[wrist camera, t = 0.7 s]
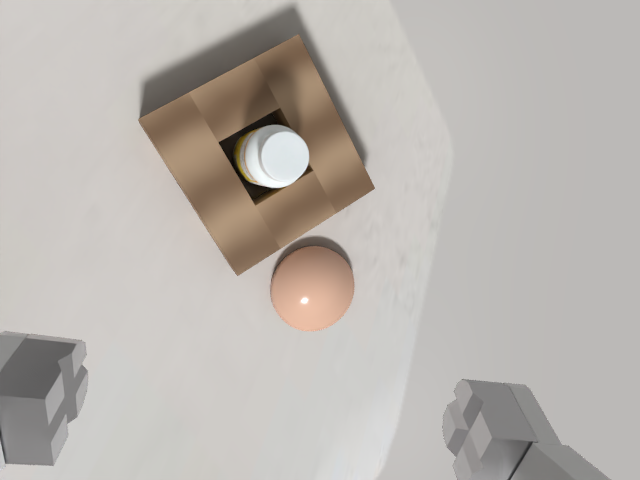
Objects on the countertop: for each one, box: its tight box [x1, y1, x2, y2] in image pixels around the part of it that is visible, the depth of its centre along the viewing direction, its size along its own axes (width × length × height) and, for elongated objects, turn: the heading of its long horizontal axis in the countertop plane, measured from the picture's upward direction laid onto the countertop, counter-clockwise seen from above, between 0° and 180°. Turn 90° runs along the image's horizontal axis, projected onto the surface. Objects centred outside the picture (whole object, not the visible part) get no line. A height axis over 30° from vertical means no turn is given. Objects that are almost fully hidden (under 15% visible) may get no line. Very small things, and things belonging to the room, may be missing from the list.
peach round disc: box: [270, 246, 354, 331], centre depth 50 cm, size 9×9×1 cm
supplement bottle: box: [233, 125, 309, 188], centre depth 42 cm, size 5×5×10 cm
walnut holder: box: [138, 34, 375, 276], centre depth 45 cm, size 16×16×4 cm
